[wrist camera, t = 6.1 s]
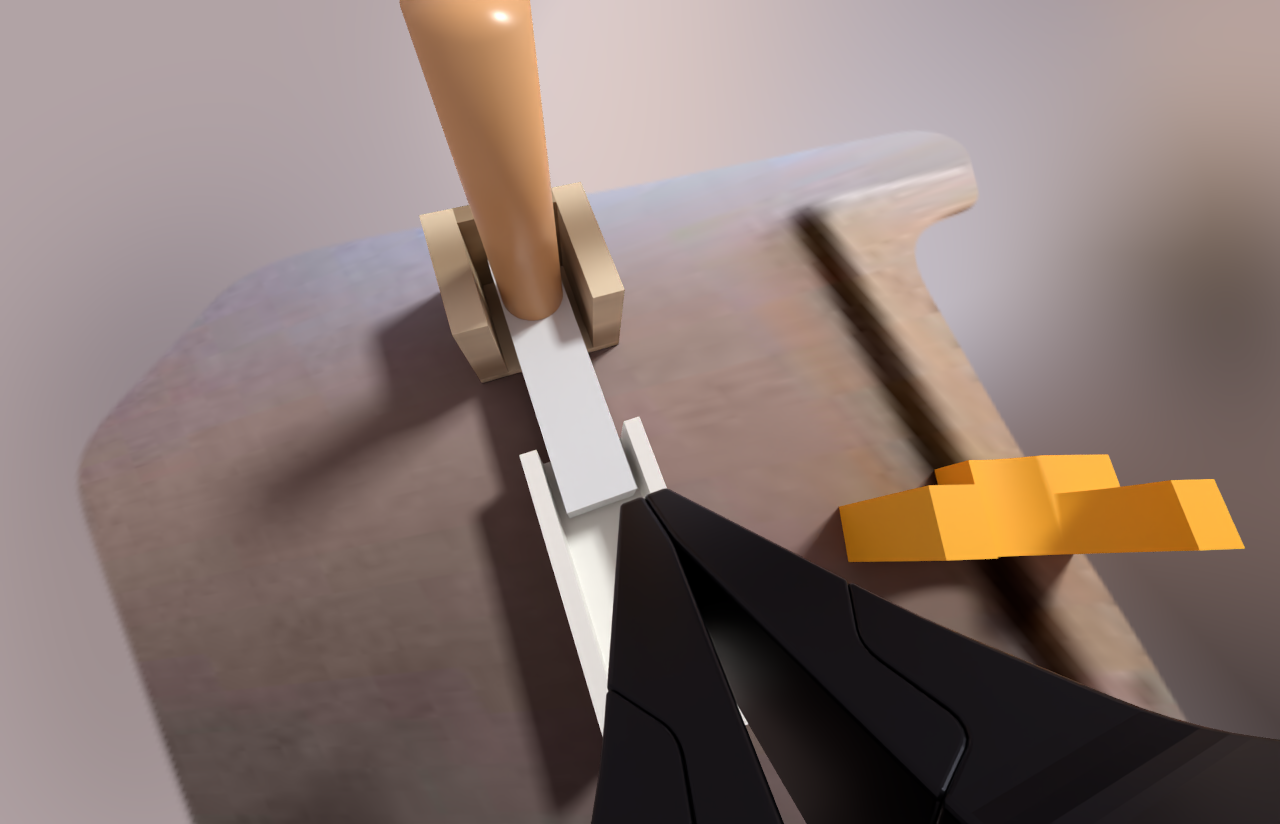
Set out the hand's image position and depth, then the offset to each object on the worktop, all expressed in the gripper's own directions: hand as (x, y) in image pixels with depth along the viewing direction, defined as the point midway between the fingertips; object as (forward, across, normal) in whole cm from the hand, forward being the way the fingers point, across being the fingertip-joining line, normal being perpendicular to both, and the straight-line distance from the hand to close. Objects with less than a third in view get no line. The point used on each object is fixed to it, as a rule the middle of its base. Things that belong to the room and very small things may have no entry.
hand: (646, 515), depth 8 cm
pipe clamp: (+7, -17, +13) cm, 22 cm away
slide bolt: (+15, 0, +3) cm, 15 cm away
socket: (+18, 0, +1) cm, 19 cm away
